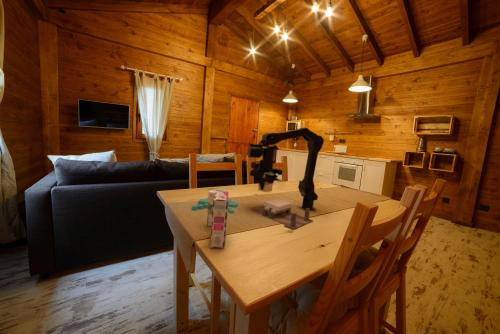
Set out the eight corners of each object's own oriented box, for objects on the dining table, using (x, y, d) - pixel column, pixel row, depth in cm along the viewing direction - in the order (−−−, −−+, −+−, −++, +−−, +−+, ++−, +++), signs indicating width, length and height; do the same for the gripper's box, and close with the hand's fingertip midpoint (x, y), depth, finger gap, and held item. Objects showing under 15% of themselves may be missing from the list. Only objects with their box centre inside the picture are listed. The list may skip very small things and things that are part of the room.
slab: (276, 202, 113) (276, 198, 113) (291, 207, 107) (291, 203, 106) (263, 205, 106) (264, 201, 105) (278, 211, 100) (279, 206, 99)
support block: (264, 188, 115) (265, 182, 114) (272, 191, 111) (272, 184, 111) (258, 189, 111) (258, 183, 111) (265, 192, 108) (266, 185, 107)
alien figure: (233, 215, 103) (239, 203, 122) (233, 211, 102) (239, 199, 122) (191, 211, 105) (204, 199, 124) (191, 206, 104) (204, 195, 124)
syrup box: (225, 224, 92) (227, 190, 90) (218, 229, 86) (221, 193, 84) (213, 221, 93) (215, 188, 91) (206, 226, 88) (208, 191, 86)
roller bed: (268, 205, 121) (269, 194, 120) (312, 221, 102) (314, 209, 101) (247, 210, 109) (248, 199, 109) (293, 230, 91) (294, 216, 90)
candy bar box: (225, 249, 72) (228, 200, 70) (209, 248, 71) (212, 199, 69) (226, 233, 83) (229, 191, 81) (212, 233, 82) (215, 190, 80)
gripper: (267, 156, 121) (265, 183, 123) (243, 156, 108) (240, 187, 110) (284, 158, 113) (281, 188, 116) (259, 159, 100) (257, 193, 102)
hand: (265, 189), depth 111 cm, fingers closed on support block, 5 cm apart
